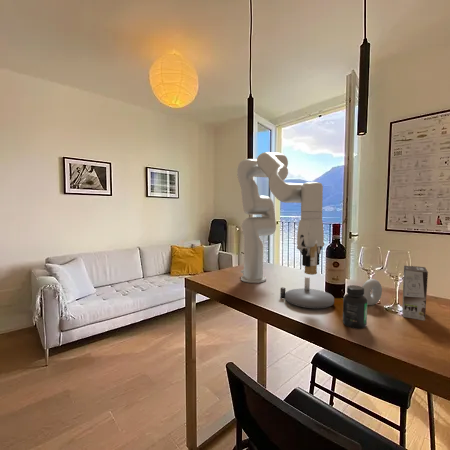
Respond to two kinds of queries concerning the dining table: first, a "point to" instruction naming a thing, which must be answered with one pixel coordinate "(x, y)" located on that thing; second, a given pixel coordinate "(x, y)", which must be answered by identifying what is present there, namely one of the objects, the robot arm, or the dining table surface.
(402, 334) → the dining table surface
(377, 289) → the donut
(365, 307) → the supplement bottle
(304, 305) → the turntable
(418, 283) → the coffee box
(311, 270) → the sprinkles bottle
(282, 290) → the stop dowel
